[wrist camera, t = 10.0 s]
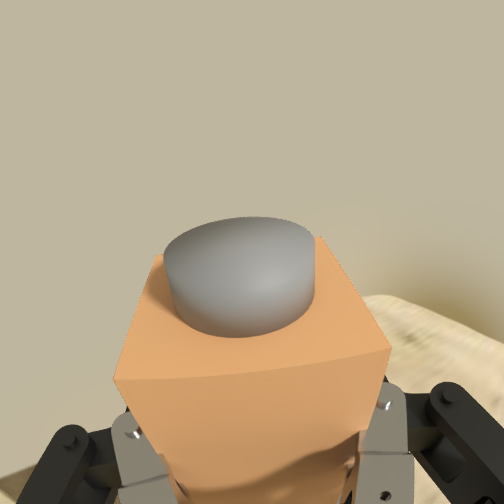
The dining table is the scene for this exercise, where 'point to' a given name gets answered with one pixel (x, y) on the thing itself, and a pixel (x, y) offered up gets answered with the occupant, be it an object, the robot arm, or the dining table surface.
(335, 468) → the orange block with knob
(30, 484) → the robot arm
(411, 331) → the dining table surface
